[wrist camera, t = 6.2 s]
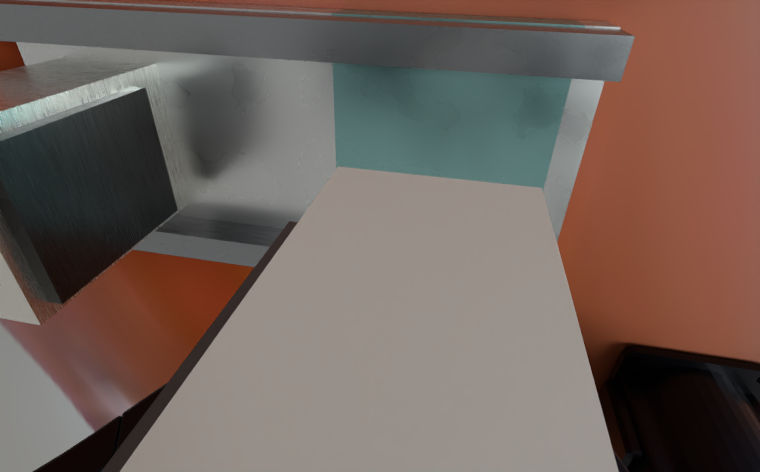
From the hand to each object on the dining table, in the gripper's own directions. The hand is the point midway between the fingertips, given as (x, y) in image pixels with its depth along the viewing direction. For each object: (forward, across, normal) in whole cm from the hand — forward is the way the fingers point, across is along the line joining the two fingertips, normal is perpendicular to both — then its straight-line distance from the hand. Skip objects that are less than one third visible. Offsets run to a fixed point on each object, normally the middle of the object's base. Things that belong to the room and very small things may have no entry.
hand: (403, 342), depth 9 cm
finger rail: (+11, +6, 0) cm, 12 cm away
